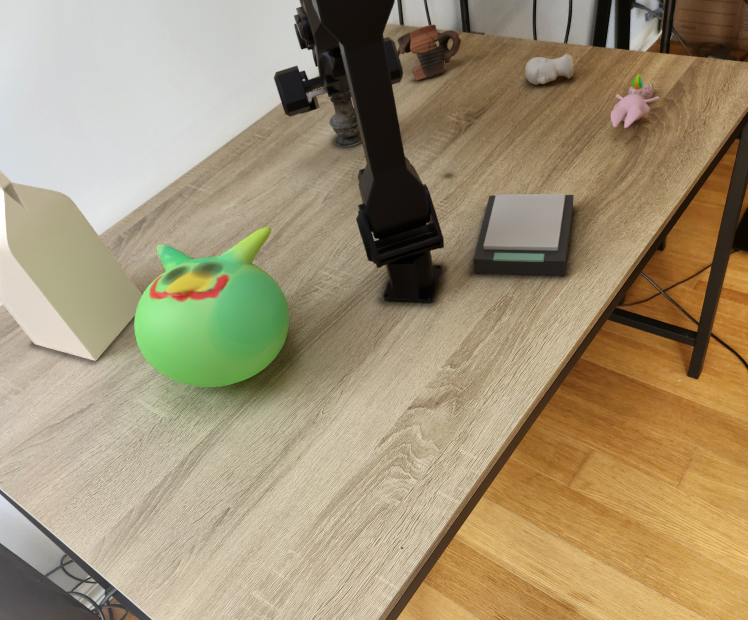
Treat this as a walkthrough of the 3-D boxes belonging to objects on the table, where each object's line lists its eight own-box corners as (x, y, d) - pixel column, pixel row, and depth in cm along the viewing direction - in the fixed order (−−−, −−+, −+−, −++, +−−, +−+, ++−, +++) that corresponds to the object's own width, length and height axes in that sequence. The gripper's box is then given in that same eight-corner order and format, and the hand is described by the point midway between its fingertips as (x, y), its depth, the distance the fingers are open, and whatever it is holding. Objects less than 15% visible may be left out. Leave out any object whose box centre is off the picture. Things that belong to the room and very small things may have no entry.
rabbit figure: (621, 99, 103) (596, 137, 94) (626, 60, 99) (600, 95, 90) (663, 102, 100) (641, 141, 91) (670, 61, 96) (648, 97, 87)
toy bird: (148, 411, 78) (83, 328, 67) (191, 311, 89) (141, 225, 78) (288, 409, 74) (243, 320, 63) (316, 305, 84) (281, 213, 73)
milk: (146, 301, 92) (40, 135, 73) (95, 361, 86) (-36, 198, 67) (87, 288, 97) (-28, 130, 78) (34, 344, 91) (-105, 187, 72)
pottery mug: (400, 88, 118) (386, 40, 116) (415, 86, 126) (402, 41, 124) (462, 63, 113) (448, 13, 110) (473, 63, 121) (461, 16, 118)
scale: (564, 276, 79) (565, 257, 77) (474, 274, 82) (472, 255, 80) (573, 209, 86) (573, 190, 84) (490, 209, 90) (489, 191, 88)
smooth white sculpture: (523, 93, 110) (529, 70, 111) (571, 92, 107) (577, 68, 108) (519, 73, 106) (526, 49, 108) (569, 72, 103) (576, 47, 104)
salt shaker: (329, 137, 111) (310, 68, 102) (359, 124, 112) (343, 55, 103) (342, 152, 107) (323, 81, 98) (373, 138, 108) (358, 67, 99)
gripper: (383, -22, 89) (380, 31, 105) (254, 19, 89) (270, 65, 105) (407, 57, 90) (400, 98, 106) (279, 97, 90) (291, 132, 106)
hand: (340, 97), depth 106 cm, fingers open, 8 cm apart
